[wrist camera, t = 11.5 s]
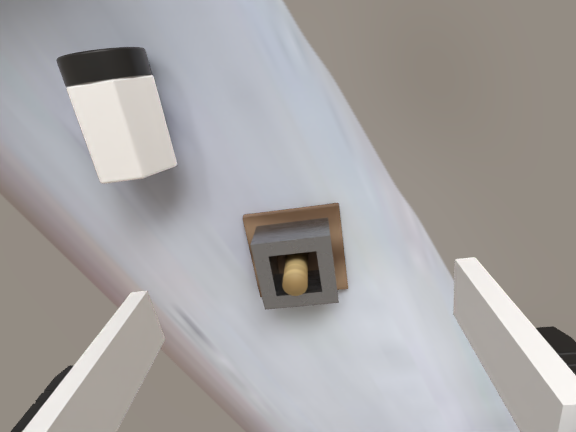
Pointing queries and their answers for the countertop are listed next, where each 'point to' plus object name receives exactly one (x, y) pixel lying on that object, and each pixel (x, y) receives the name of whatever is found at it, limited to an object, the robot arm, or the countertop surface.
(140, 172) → the jar
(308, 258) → the keeper
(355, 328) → the countertop surface
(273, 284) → the grey hollow block
